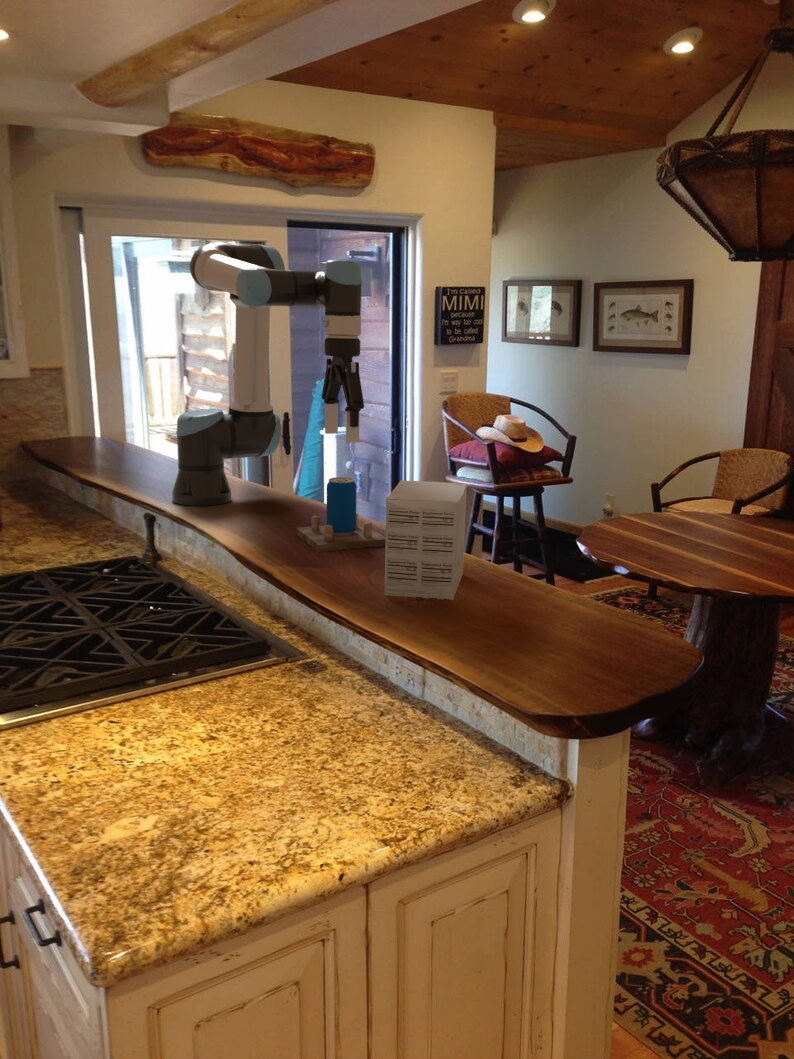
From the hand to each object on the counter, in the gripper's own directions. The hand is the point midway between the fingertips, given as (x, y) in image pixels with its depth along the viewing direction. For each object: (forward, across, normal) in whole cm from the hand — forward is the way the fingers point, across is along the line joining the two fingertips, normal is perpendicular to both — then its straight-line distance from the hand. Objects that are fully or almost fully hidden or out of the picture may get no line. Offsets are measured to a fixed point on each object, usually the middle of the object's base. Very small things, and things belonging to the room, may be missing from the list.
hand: (341, 437), depth 196 cm
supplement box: (+23, +36, +4) cm, 43 cm away
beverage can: (+21, 0, 0) cm, 21 cm away
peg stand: (+23, 0, 0) cm, 23 cm away
